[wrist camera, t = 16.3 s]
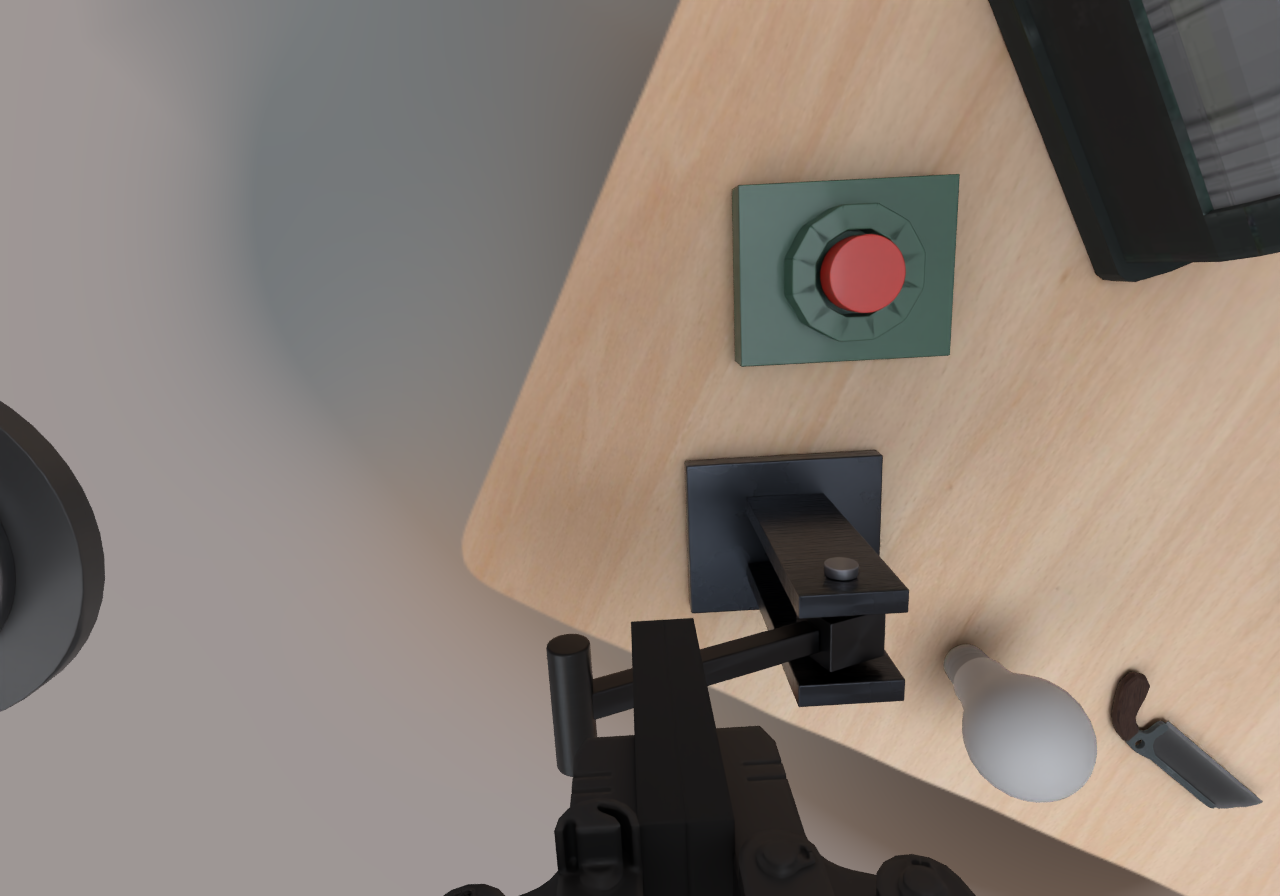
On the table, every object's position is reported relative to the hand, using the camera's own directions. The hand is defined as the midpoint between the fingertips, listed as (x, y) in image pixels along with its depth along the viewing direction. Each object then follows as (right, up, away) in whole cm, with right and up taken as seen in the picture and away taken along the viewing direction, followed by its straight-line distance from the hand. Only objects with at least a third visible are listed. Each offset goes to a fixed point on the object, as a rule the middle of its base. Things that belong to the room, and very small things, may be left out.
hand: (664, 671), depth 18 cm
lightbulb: (+19, -7, +28) cm, 35 cm away
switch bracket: (+8, +1, +25) cm, 26 cm away
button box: (+10, +15, +22) cm, 28 cm away
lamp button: (+10, +14, +18) cm, 25 cm away
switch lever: (+2, -3, +13) cm, 13 cm away
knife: (+34, -14, +30) cm, 47 cm away
